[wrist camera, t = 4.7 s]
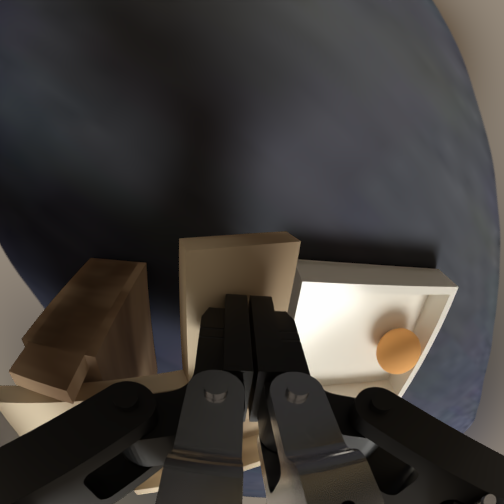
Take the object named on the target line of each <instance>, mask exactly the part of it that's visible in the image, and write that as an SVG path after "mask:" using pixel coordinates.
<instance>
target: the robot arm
mask: <svg viewBox="0 0 504 504" xmlns="http://www.w3.org/2000/svg"><path fill="white" fill-rule="evenodd" d="M247 408H248V411H249V422H258V427H259V434H258V438H257V447H258V453H259V458H260V464H261V469H262V475H263V480H264V486H265V491H266V504H504V456H503V455H501V454H499V453H498V452H496V451H494V450H492V449H490V448H488V447H486V446H484V445H483V444H481V443H479V442H477V441H475V440H473V439H471V438H470V437H468V436H466V435H464V434H463V433H461V432H459V431H457V430H455V429H454V428H452V427H450V426H448V425H447V424H445V423H443V422H441V421H440V420H438V419H436V418H435V417H433V416H431V415H429V414H428V413H426V412H424V411H423V410H421V409H419V408H418V407H416V406H414V405H413V404H411V403H409V402H408V401H406V400H404V399H403V398H401V397H399V396H398V395H396V394H394V393H393V392H391V391H389V390H387V389H385V388H381V387H369V388H366V389H364V390H362V391H361V392H359V394H358V395H357V397H356V398H354V397H348V396H343V395H337V394H333V393H330V392H327V391H325V390H324V389H323V387H322V385H321V384H320V382H319V381H318V380H317V379H315V378H314V377H312V376H311V375H310V372H309V369H308V365H307V362H306V358H305V355H304V351H303V348H302V344H301V342H300V337H299V334H298V330H297V327H296V324H295V320H294V319H293V318H292V317H291V316H290V315H289V314H288V313H287V312H286V311H275V310H274V305H273V300H272V297H271V296H256V295H250V297H249V303H248V301H247V295H238V294H226V295H225V308H213V307H209V308H208V309H207V310H206V311H205V313H204V314H203V315H202V317H201V324H200V331H199V338H198V345H197V353H196V361H195V369H194V374H193V376H192V378H191V379H190V381H189V382H188V383H187V384H186V385H184V386H183V387H181V388H179V389H177V390H174V391H169V392H163V393H156V394H153V393H152V392H151V391H150V390H149V389H148V388H147V387H146V386H144V385H142V384H140V383H137V382H132V381H122V382H117V383H114V384H112V385H110V386H109V387H107V388H105V389H103V390H102V391H100V392H98V393H97V394H95V395H93V396H92V397H90V398H88V399H86V400H85V401H83V402H81V403H80V404H78V405H76V406H74V407H73V408H71V409H69V410H67V411H66V412H64V413H62V414H60V415H59V416H57V417H55V418H53V419H51V420H50V421H48V422H46V423H44V424H42V425H41V426H39V427H37V428H35V429H33V430H31V431H30V432H28V433H26V434H24V435H22V436H20V437H18V438H16V439H15V440H13V441H11V442H9V443H7V444H5V445H3V446H1V447H0V504H114V503H115V502H117V501H118V500H120V499H121V498H123V497H124V496H126V495H127V494H128V493H130V492H131V491H132V490H134V489H135V488H137V487H138V486H139V485H141V484H142V483H143V482H145V481H146V480H147V479H149V478H150V477H151V476H153V475H154V474H155V473H156V472H158V471H159V470H160V469H161V468H163V470H162V475H161V480H160V484H159V489H158V494H157V499H156V504H242V496H243V462H242V443H243V422H245V419H246V413H247Z"/></svg>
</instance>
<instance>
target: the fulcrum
mask: <svg viewBox="0 0 504 504" xmlns="http://www.w3.org/2000/svg"><path fill="white" fill-rule="evenodd" d="M22 341H23V343H24V346H25V348H24V350H23V351H22V353H21V354H20V355H19V357H18V358H17V360H16V361H15V363H14V364H13V366H12V367H11V369H10V370H9V372H10V374H11V376H12V378H13V380H14V382H15V383H16V385H18V386H21V387H23V388H26V389H29V390H31V391H34V392H37V393H40V394H43V395H46V396H49V397H52V398H55V399H58V400H61V401H64V402H68V403H71V404H73V403H74V401H75V399H76V396H77V394H78V392H79V390H80V388H81V385H82V383H88V382H99V381H109V380H118V379H126V378H134V377H141V376H148V375H155V374H157V364H156V357H155V350H154V342H153V334H152V325H151V316H150V306H149V295H148V282H147V266H146V263H143V262H131V261H120V260H109V259H99V258H90V259H89V260H88V261H87V262H86V263H85V264H84V265H83V266H82V267H81V269H80V270H79V271H78V272H77V273H76V274H75V275H74V276H73V277H72V278H71V280H70V281H69V282H68V283H67V284H66V285H65V286H64V287H63V289H62V290H61V291H60V292H59V293H58V294H57V296H56V297H55V298H54V299H53V300H52V301H51V303H50V304H49V305H48V306H47V307H46V309H45V310H44V311H43V312H42V314H41V315H40V316H39V317H38V319H37V320H36V321H35V322H34V324H33V325H32V326H31V328H30V329H29V330H28V331H27V333H26V334H25V335H24V336H23V338H22Z"/></svg>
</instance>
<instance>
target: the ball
mask: <svg viewBox="0 0 504 504" xmlns="http://www.w3.org/2000/svg"><path fill="white" fill-rule="evenodd" d="M420 354H421V345H420V341H419V339H418V337H417V336H416V335H415V334H414V333H413V332H412V331H410V330H408V329H404V328H396V329H393V330H390V331H389V332H387V333H386V334H385V335H384V336H383V337H382V338H381V339H380V341H379V343H378V345H377V349H376V357H377V361H378V363H379V365H380V366H381V368H382V369H384V370H385V371H386V372H388V373H391V374H402V373H405V372H407V371H409V370H411V369H412V368H413V367H414V366H415V365H416V363H417V362H418V360H419V357H420Z"/></svg>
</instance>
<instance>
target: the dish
mask: <svg viewBox="0 0 504 504" xmlns="http://www.w3.org/2000/svg"><path fill="white" fill-rule="evenodd" d="M457 289H458V286H457V285H456V284H454V283H453V282H452V281H451V280H450V279H449V278H448V277H447V276H446V275H444V274H443V273H442V272H441V271H440V270H439V269H432V268H417V267H402V266H387V265H373V264H358V263H344V262H329V261H315V260H301V259H298V260H297V266H296V271H295V276H294V281H293V287H292V292H291V297H290V302H289V307H288V312H287V313H288V314H289V315H290V316H291V317H292V318H293V319H294V320H295V324H296V327H297V330H298V334H299V337H300V342H301V344H302V348H303V351H304V355H305V358H306V362H307V365H308V369H309V372H310V375H311V376H312V377H314V378H315V379H317V380H318V381H319V382H320V384H321V385H322V387H323V389H324V390H325V391H327V392H330V393H333V394H337V395H343V396H348V397H354V398H356V397H357V395H358V394H359V392H361V391H362V390H364V389H366V388H369V387H381V388H385V389H387V390H389V391H391V392H393V393H394V394H396V395H398V396H399V397H402V396H403V394H404V392H405V391H406V389H407V388H408V386H409V384H410V383H411V381H412V379H413V378H414V376H415V374H416V373H417V371H418V369H419V368H420V366H421V364H422V362H423V361H424V359H425V357H426V355H427V353H428V351H429V349H430V348H431V346H432V344H433V342H434V340H435V338H436V336H437V334H438V332H439V330H440V328H441V326H442V324H443V321H444V319H445V317H446V315H447V313H448V311H449V308H450V306H451V304H452V301H453V299H454V297H455V294H456V292H457ZM396 328H404V329H408V330H410V331H412V332H413V333H414V334H415V335H416V336H417V337H418V339H419V341H420V345H421V354H420V357H419V360H418V362H417V363H416V365H415V366H414V367H413V368H412V369H411V370H409V371H407V372H405V373H402V374H391V373H388V372H386V371H385V370H384V369H382V368H381V366H380V365H379V363H378V361H377V357H376V349H377V345H378V343H379V341H380V339H381V338H382V337H383V336H384V335H385V334H386V333H387V332H389V331H390V330H393V329H396Z"/></svg>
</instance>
